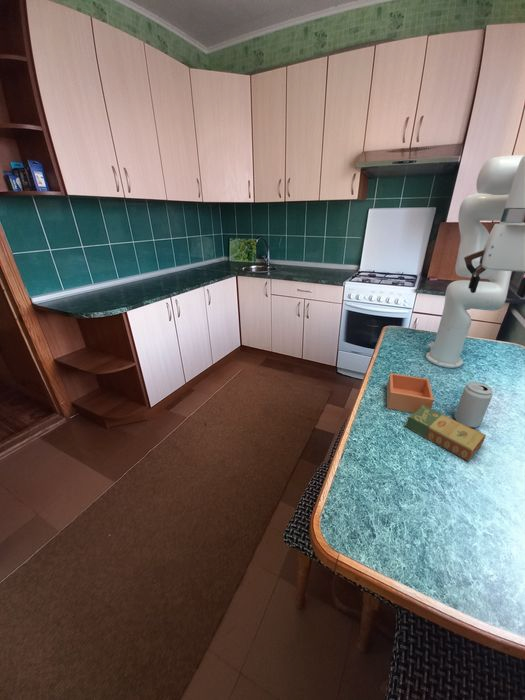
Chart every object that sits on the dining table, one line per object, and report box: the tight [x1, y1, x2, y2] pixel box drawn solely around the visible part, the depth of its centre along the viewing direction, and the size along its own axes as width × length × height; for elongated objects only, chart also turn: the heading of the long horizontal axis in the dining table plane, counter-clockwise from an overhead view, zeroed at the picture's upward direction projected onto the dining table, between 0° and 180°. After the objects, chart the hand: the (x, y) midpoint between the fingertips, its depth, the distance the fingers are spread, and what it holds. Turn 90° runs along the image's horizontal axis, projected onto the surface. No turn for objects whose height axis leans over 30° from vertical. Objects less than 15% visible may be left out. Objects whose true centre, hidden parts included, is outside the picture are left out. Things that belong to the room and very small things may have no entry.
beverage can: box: [453, 381, 494, 428], centre depth 81 cm, size 6×6×12 cm
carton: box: [406, 405, 486, 462], centre depth 77 cm, size 8×16×4 cm, turn 38°
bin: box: [386, 372, 435, 414], centre depth 91 cm, size 12×12×6 cm
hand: (495, 293), depth 71 cm, fingers open, 9 cm apart
